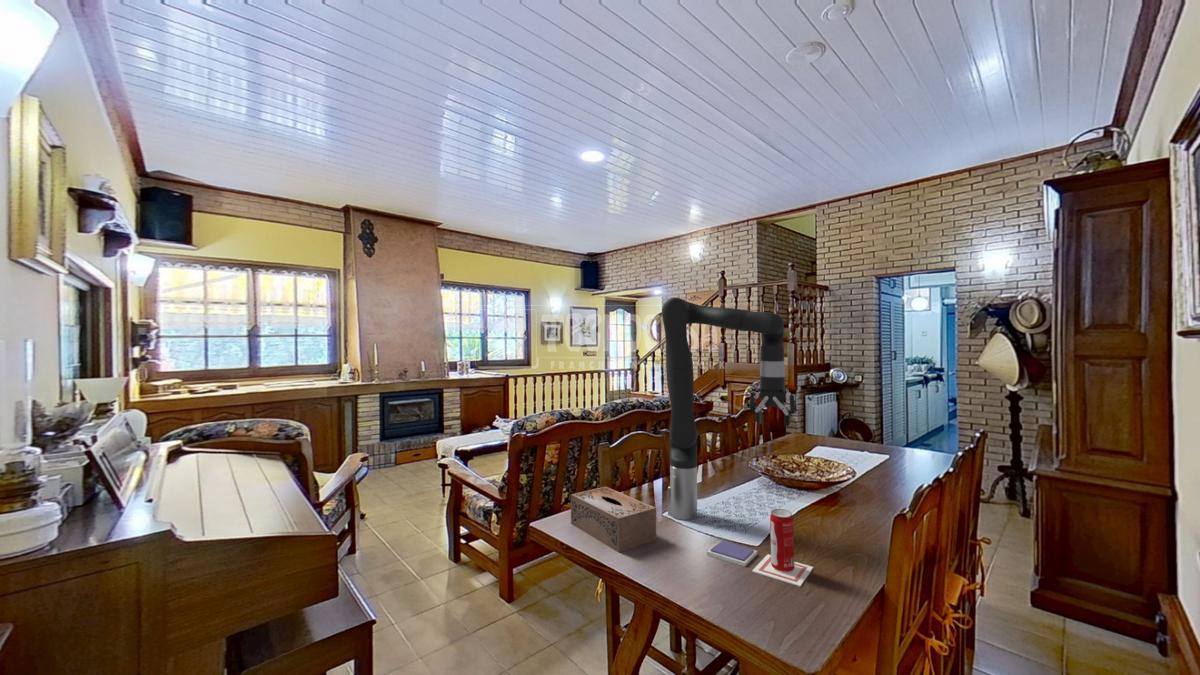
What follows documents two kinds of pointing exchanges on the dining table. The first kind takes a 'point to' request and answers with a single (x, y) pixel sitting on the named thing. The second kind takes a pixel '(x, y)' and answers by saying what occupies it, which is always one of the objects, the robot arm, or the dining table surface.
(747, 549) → the ink pad
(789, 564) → the beverage can
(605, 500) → the tissue box cover
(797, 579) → the marked card
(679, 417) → the robot arm
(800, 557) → the dining table surface
